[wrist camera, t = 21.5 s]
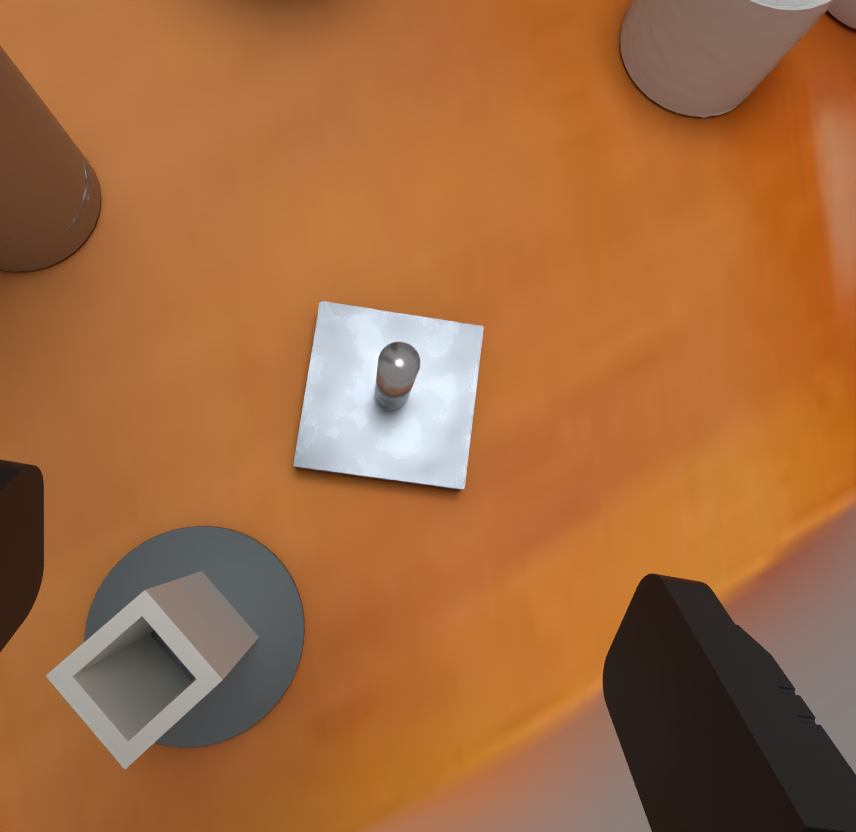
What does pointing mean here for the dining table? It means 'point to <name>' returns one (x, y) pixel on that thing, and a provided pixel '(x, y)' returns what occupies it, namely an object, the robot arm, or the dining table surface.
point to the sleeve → (152, 663)
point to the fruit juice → (844, 12)
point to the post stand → (389, 397)
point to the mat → (249, 595)
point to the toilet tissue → (710, 48)
